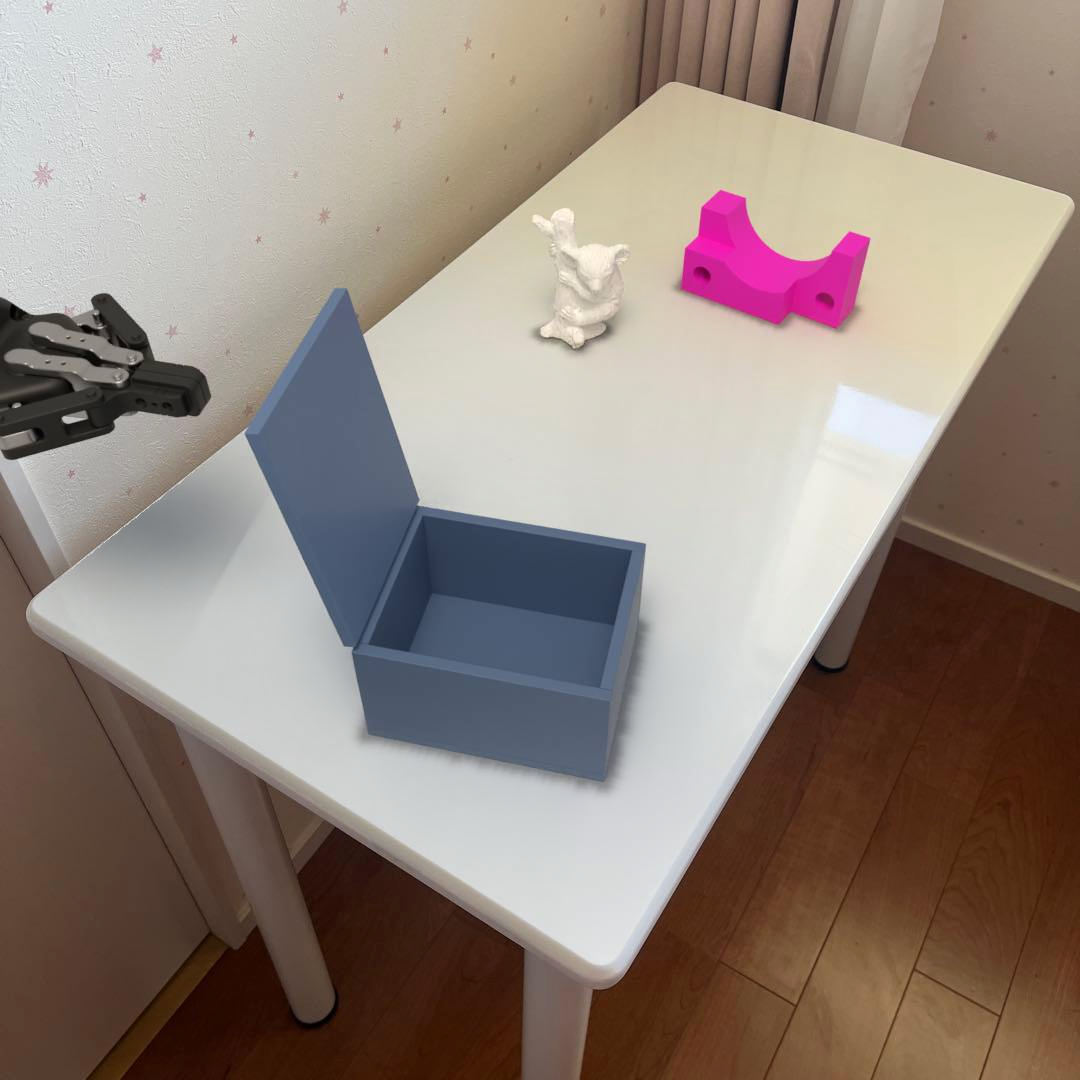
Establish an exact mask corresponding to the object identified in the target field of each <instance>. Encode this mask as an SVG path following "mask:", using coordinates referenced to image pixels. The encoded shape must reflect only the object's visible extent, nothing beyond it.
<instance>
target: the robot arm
mask: <svg viewBox="0 0 1080 1080" xmlns="http://www.w3.org/2000/svg"><path fill="white" fill-rule="evenodd" d="M90 302H91V305H92V308H93V309H91V310H88V311H85V312H83V313H79V314H78V315H75V316H73V317H70V316H69V315H67V314H65V313H62V312H49V313H44V314H32V313H30V312H28V311H25V310H24V309H22V308H21V307H19V306H18V305H16V304H15V303H13V302H12V301H10V300H8V298H7V299H6V298H5V297H2V296H0V452H1V454H2V456H3V458H4V459H5V460H8V461H16V460H20V459H23V458H26V457H30V456H35V455H37V454H41V453H45V452H48V451H51V450H55V449H58V448H62V447H66V446H71V445H74V444H78V443H80V442H84V441H88V440H92V439H95V438H99V437H101V436H105V435H109V434H111V433H112V432H113V431H114V430H115V429H116V423H115V421H116V420H117V419H119V418H120V417H132V416H134V415H136V414H138V413H139V412H140V413H146V414H153V415H161V416H164V417H165V416H167V417H171V418H172V417H173V418H184V417H185V418H186V417H195V418H196V417H199V416H200V415H201V414H202V413H203V411H204V409H205V408H206V406H207V405H208V404H209V402H210V400H211V399H212V394H211V390H210V386H209V383H208V379H207V376H206V375H205V374H204V373H203V372H202V371H201V369H200V368H198V367H195V366H193V365H187V364H180V363H174V362H167V361H159V360H156V358H155V356H154V352H153V349H152V346H151V344H150V340H149V338H148V337H149V336H148V335H147V332H146V331H145V330H144V329H143V328H142V327H141V326H140V324H139V323H137V322H136V320H135V319H134V318H133V317H132V316H131V315H130V314H129V313H128V312H127V311H126V310H125V309H124V307H122V305H120V304H119V302H118V301H117V300H116V299H115V298H114V296H112V294H110V293H106V292H101V293H97V294H95V295H93V296H92V297H91V299H90ZM64 417H69V418H78V419H81V420H77V421H74V422H70V423H67V422H65V421H64V419H63V418H64Z"/></svg>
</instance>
